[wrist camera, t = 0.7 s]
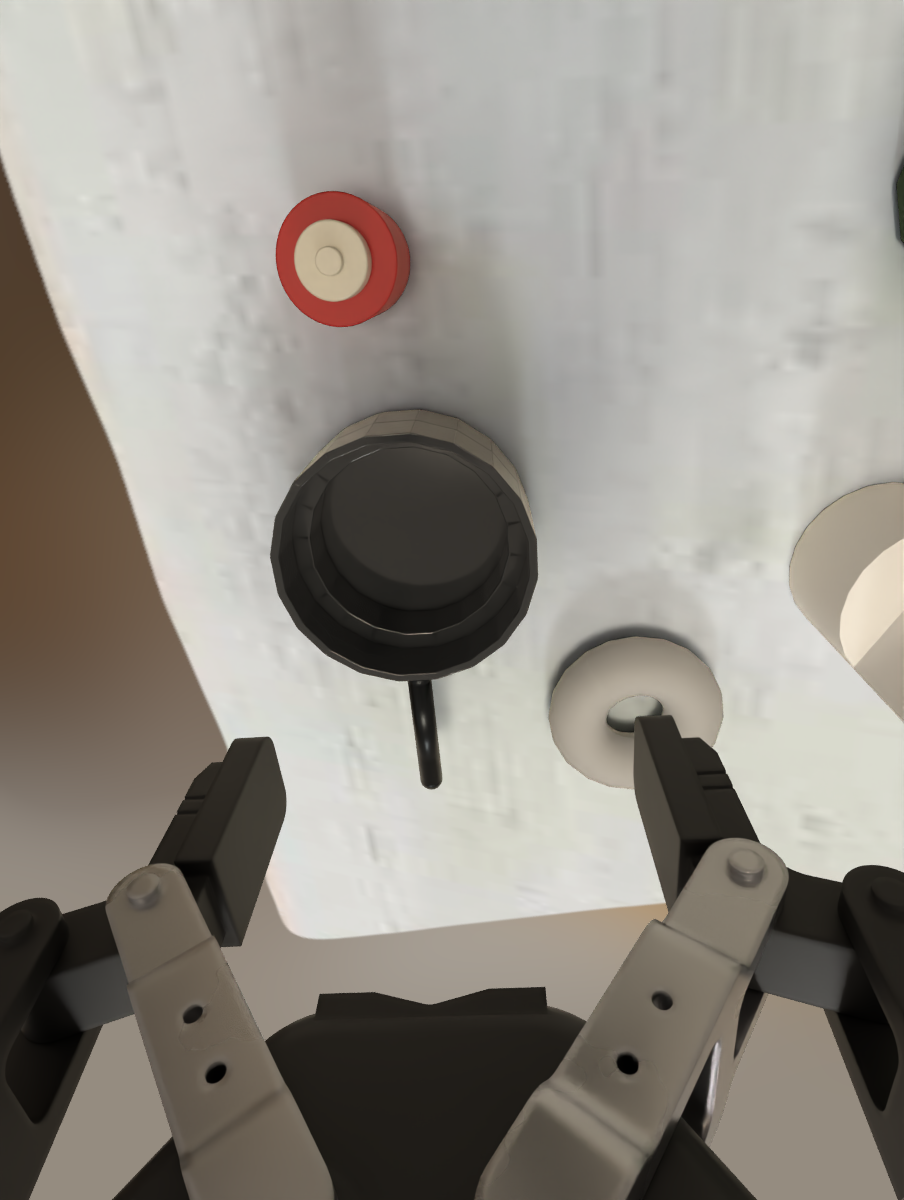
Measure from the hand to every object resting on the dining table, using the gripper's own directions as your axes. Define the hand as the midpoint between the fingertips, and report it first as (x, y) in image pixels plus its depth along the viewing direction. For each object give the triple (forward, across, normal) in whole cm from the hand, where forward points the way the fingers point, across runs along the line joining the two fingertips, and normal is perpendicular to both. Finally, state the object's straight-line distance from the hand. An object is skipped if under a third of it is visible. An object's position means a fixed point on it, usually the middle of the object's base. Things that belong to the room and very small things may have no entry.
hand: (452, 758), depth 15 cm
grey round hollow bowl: (+24, +3, +3) cm, 24 cm away
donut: (+24, -9, +15) cm, 29 cm away
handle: (+19, +3, +13) cm, 23 cm away
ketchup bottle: (+24, +4, -10) cm, 26 cm away
